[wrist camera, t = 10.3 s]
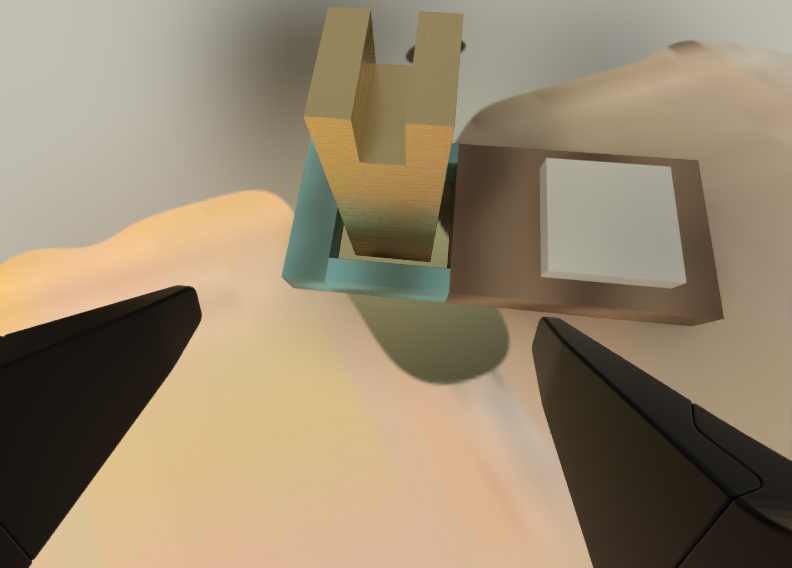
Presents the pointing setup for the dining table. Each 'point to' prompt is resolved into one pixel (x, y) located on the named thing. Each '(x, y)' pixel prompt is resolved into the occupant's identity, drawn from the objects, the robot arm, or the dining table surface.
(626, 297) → the divided tray
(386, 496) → the dining table surface
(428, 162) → the brass clip
